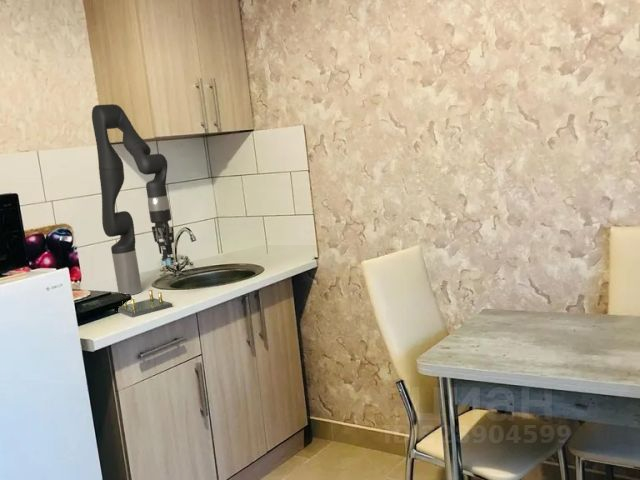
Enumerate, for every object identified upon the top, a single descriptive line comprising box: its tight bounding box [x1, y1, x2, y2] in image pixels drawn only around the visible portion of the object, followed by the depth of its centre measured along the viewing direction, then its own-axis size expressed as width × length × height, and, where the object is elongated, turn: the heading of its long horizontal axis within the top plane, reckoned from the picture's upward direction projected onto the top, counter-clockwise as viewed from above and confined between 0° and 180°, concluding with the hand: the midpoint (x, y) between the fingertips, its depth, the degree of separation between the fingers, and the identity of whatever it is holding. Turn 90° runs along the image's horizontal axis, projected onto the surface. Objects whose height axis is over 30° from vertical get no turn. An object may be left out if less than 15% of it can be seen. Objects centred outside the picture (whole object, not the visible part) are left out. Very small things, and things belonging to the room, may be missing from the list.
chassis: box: [117, 289, 173, 318], centre depth 233 cm, size 16×15×5 cm
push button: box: [156, 238, 176, 266], centre depth 241 cm, size 7×5×10 cm
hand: (166, 253), depth 241 cm, fingers closed on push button, 5 cm apart
